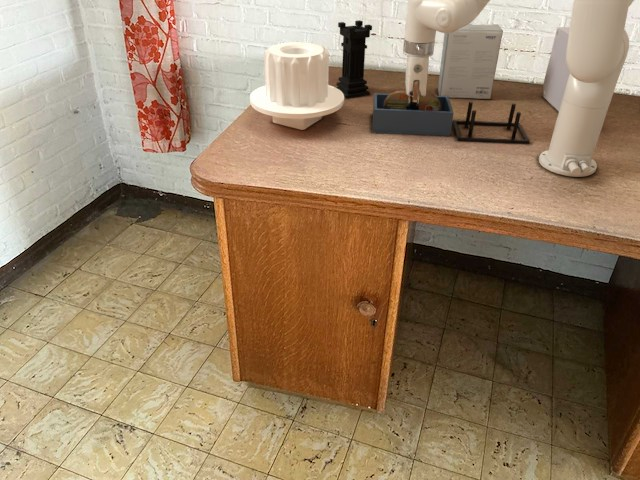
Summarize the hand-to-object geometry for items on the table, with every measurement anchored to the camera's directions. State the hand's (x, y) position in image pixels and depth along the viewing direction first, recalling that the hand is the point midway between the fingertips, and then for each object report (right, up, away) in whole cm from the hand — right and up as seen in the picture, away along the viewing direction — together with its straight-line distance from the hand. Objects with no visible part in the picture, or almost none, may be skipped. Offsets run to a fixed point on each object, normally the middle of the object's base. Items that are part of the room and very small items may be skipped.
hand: (410, 117), depth 145 cm
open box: (0, -2, +1) cm, 2 cm away
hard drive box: (+20, +12, +22) cm, 31 cm away
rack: (+20, -5, -3) cm, 21 cm away
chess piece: (-14, +13, +22) cm, 29 cm away
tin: (0, -1, +1) cm, 2 cm away
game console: (+47, +4, +11) cm, 48 cm away
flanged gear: (-30, 0, +3) cm, 31 cm away
